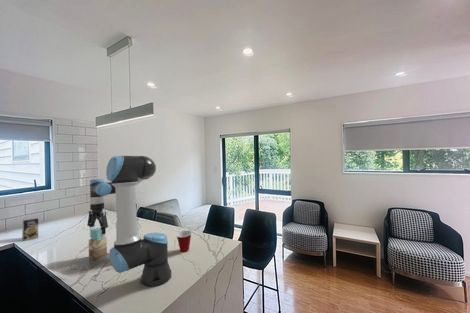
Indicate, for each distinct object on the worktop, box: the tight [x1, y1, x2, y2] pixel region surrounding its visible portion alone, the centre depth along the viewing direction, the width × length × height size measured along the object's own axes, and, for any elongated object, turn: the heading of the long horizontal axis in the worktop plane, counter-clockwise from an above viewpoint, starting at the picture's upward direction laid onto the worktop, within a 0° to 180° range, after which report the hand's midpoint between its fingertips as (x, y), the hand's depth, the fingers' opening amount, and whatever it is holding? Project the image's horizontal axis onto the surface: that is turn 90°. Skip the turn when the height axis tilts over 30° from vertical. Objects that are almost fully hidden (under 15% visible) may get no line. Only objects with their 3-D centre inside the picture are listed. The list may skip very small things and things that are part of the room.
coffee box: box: [21, 218, 39, 242], centre depth 179 cm, size 9×6×16 cm
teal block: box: [90, 227, 101, 240], centre depth 136 cm, size 5×5×6 cm
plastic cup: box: [175, 230, 193, 253], centre depth 146 cm, size 11×11×12 cm
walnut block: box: [88, 246, 108, 261], centre depth 135 cm, size 7×7×6 cm
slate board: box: [72, 252, 111, 270], centre depth 133 cm, size 18×18×2 cm
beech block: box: [88, 236, 108, 251], centre depth 135 cm, size 7×7×6 cm
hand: (97, 238), depth 136 cm, fingers open, 10 cm apart
